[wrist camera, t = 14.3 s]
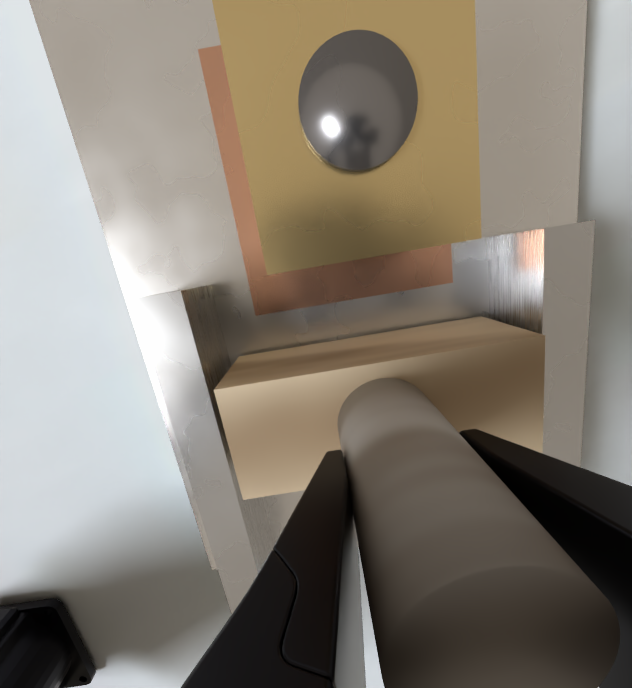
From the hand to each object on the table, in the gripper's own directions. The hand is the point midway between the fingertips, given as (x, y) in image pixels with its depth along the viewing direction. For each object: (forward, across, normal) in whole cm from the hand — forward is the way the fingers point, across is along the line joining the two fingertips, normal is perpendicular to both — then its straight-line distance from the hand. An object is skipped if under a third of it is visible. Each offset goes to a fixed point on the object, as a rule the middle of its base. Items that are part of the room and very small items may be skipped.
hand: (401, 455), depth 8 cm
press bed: (+7, 0, -4) cm, 8 cm away
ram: (+5, 0, 0) cm, 5 cm away
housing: (+5, 0, -8) cm, 10 cm away
